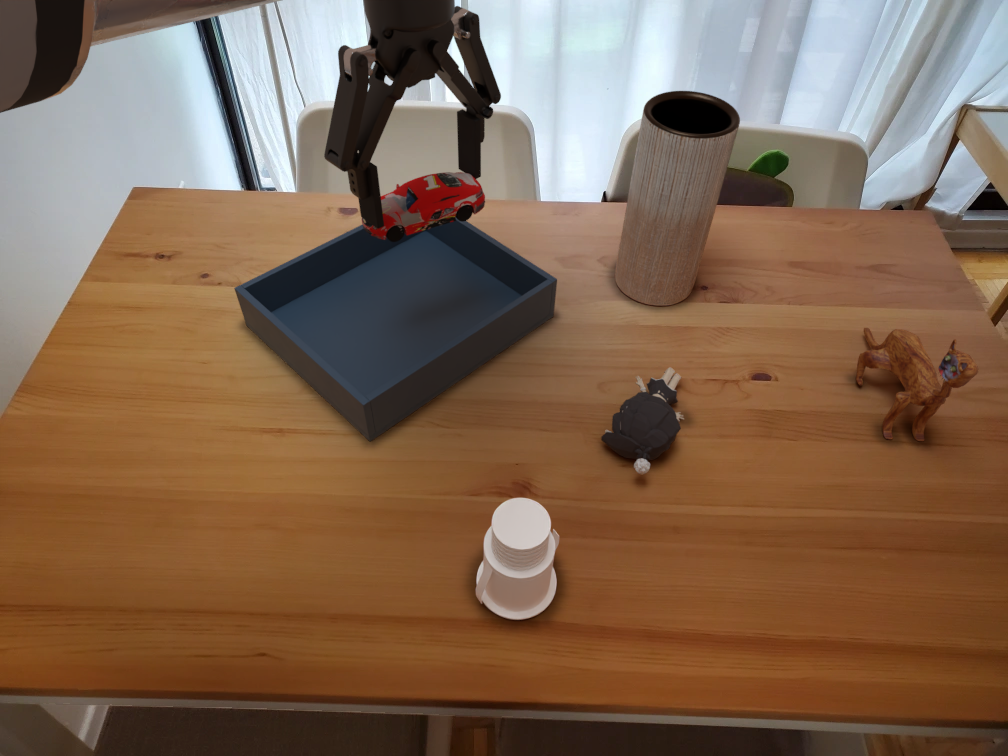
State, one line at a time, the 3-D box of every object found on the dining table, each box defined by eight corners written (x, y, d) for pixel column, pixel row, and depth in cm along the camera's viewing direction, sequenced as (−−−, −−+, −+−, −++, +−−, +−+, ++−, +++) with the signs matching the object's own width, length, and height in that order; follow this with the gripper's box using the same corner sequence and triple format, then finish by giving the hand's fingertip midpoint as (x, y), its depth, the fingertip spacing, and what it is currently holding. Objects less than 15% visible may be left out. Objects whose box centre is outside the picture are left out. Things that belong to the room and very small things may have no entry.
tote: (370, 442, 73) (363, 405, 69) (246, 325, 84) (233, 287, 80) (553, 316, 87) (557, 279, 82) (426, 230, 98) (423, 193, 93)
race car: (374, 250, 71) (369, 216, 69) (355, 221, 75) (349, 188, 72) (492, 216, 76) (492, 182, 73) (469, 190, 79) (468, 157, 76)
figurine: (634, 365, 81) (579, 451, 71) (671, 335, 76) (617, 423, 66) (680, 406, 81) (632, 497, 71) (719, 378, 76) (674, 472, 66)
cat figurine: (833, 334, 86) (880, 240, 76) (889, 336, 86) (943, 243, 76) (878, 455, 74) (941, 363, 64) (943, 459, 74) (1017, 367, 63)
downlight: (530, 531, 67) (536, 468, 59) (576, 590, 63) (589, 530, 56) (456, 575, 64) (453, 514, 56) (501, 640, 60) (504, 584, 52)
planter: (686, 257, 95) (730, 91, 78) (699, 308, 88) (750, 137, 72) (611, 255, 95) (638, 88, 78) (617, 306, 88) (649, 134, 72)
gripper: (304, 20, 50) (347, 264, 66) (545, -56, 62) (532, 167, 78) (247, -11, 54) (300, 228, 69) (485, -77, 65) (484, 140, 81)
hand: (423, 196), depth 74 cm, fingers closed on race car, 12 cm apart
